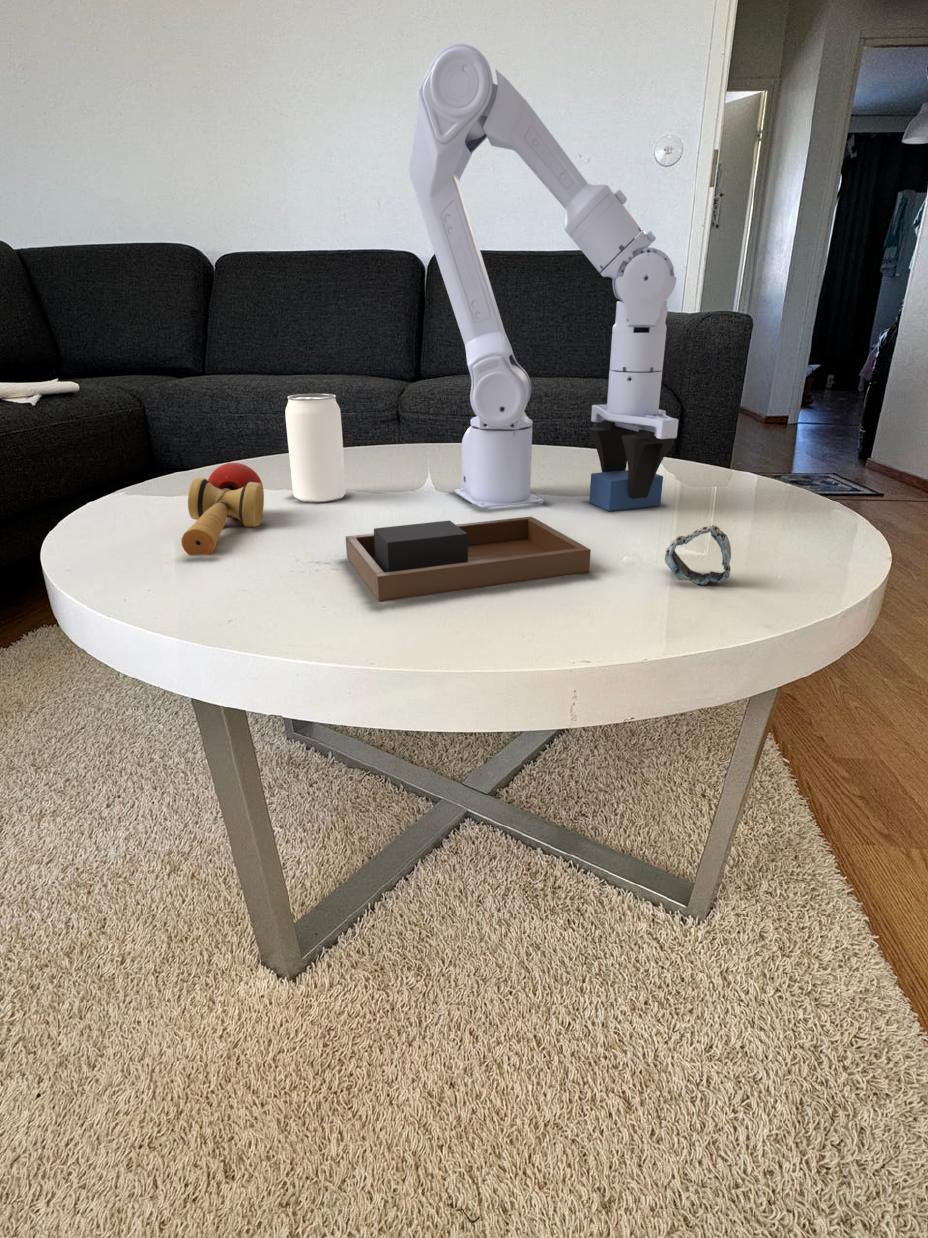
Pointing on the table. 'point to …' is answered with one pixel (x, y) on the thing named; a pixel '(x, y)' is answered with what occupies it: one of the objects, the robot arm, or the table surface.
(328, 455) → the can
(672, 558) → the rough grey ring
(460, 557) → the black rectangular block
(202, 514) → the kendama
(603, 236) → the robot arm
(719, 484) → the table surface
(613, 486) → the blue rectangular block
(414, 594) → the tray
